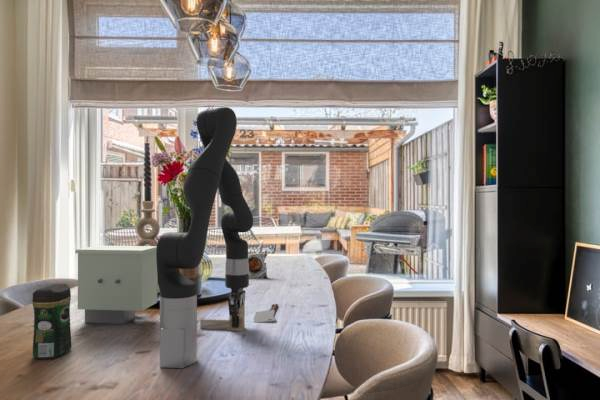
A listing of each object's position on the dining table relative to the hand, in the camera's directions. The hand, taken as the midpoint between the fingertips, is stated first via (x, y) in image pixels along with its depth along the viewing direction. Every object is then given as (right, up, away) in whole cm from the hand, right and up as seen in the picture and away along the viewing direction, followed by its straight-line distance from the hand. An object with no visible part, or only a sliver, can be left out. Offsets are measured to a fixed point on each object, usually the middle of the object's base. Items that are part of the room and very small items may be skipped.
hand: (237, 325), depth 144 cm
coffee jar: (-47, -1, -24) cm, 52 cm away
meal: (-5, -1, +95) cm, 95 cm away
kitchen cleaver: (+8, -2, +19) cm, 21 cm away
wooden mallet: (-5, -1, 0) cm, 5 cm away
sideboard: (-41, -1, +8) cm, 42 cm away
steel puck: (-34, -1, +8) cm, 35 cm away
